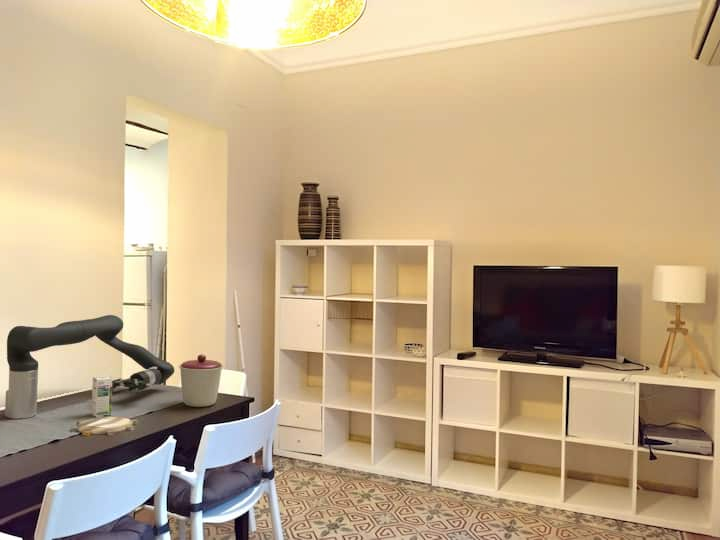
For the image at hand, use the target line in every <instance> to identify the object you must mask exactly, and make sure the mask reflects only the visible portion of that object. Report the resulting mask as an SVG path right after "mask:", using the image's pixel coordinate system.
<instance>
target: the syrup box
mask: <svg viewBox="0 0 720 540" xmlns="http://www.w3.org/2000/svg"><path fill="white" fill-rule="evenodd" d="M112 381H113V377H112V376H110V375H101V376H93V377H92V387H91V389H92V393H91V395H92V396H91V398H92V399H91V414H92V415H93V416H94V417H95V416H103V415H107V416H111V415H112V404H113V403H112V401H113V400H112V399H113V391H112ZM110 414H111V415H110ZM103 417H104V416H103Z"/></svg>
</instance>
